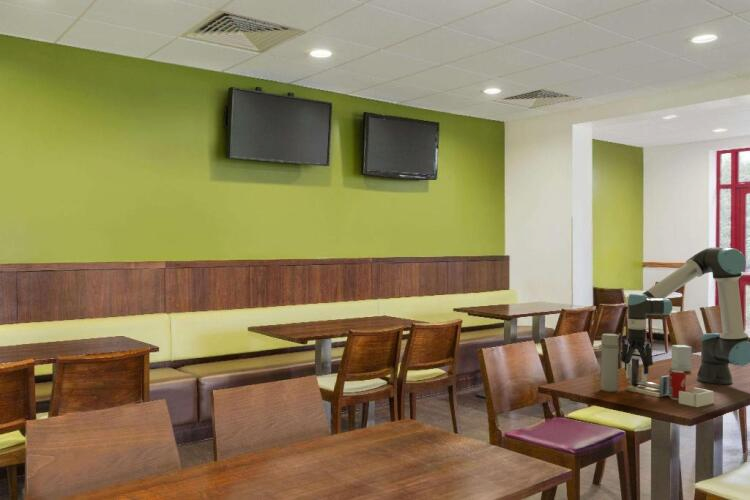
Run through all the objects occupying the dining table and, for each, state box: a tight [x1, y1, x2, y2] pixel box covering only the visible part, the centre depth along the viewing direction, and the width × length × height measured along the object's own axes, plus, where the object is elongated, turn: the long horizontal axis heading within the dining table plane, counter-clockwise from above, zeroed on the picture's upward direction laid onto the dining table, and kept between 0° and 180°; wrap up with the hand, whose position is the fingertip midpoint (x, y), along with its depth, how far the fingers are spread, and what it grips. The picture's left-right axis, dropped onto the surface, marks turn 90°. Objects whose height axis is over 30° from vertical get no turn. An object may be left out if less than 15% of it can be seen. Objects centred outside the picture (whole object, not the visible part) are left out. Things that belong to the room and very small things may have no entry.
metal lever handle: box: [628, 357, 669, 397], centre depth 287 cm, size 18×7×13 cm, turn 34°
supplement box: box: [670, 344, 692, 372], centre depth 339 cm, size 7×7×13 cm
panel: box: [625, 385, 668, 398], centre depth 287 cm, size 8×16×2 cm, turn 34°
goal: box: [678, 387, 715, 408], centre depth 269 cm, size 12×8×5 cm, turn 124°
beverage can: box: [668, 369, 687, 401], centre depth 276 cm, size 6×6×12 cm
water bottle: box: [595, 333, 619, 393], centre depth 290 cm, size 9×8×25 cm
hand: (636, 379), depth 292 cm, fingers open, 7 cm apart
